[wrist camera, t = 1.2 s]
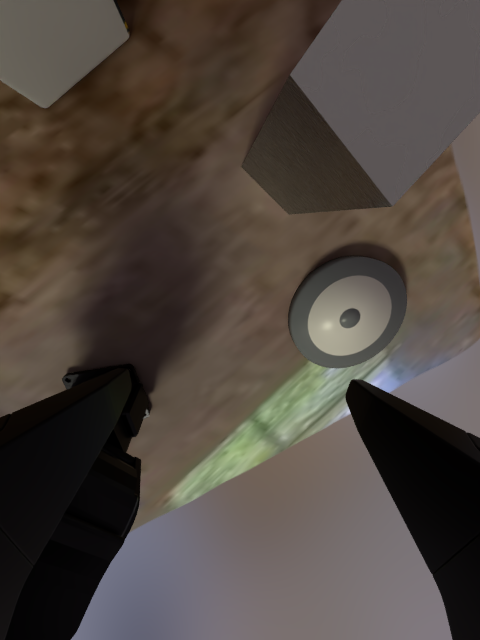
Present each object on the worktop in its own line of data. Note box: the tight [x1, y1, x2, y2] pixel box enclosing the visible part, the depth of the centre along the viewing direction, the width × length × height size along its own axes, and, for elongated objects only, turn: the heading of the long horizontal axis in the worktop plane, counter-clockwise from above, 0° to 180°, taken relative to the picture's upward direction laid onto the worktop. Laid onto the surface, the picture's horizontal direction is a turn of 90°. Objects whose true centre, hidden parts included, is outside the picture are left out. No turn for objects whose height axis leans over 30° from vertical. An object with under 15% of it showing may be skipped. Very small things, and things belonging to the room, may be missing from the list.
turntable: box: [288, 256, 407, 368], centre depth 22 cm, size 11×11×1 cm
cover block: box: [242, 0, 480, 214], centre depth 12 cm, size 5×5×12 cm
